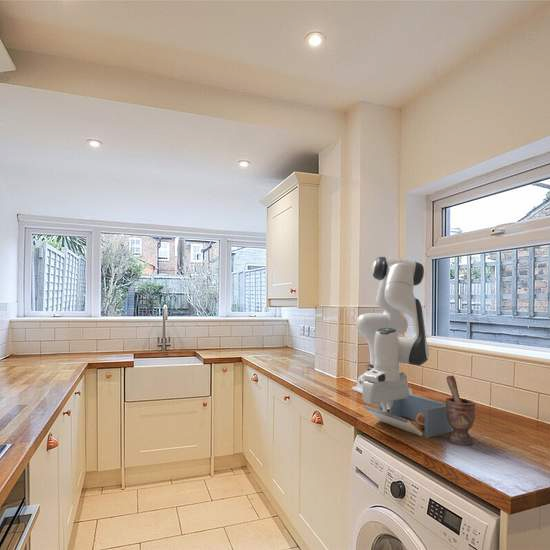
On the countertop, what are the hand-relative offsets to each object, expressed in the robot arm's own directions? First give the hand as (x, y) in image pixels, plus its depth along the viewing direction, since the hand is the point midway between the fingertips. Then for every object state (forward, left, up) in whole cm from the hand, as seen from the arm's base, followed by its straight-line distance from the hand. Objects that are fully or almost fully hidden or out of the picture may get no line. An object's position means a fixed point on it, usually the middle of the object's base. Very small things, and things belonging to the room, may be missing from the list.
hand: (386, 413), depth 140 cm
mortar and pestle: (+19, +12, -5) cm, 23 cm away
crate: (+2, +11, -5) cm, 12 cm away
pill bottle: (-14, +24, -5) cm, 28 cm away
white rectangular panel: (+2, +4, -5) cm, 7 cm away
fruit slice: (+8, +12, -5) cm, 15 cm away
